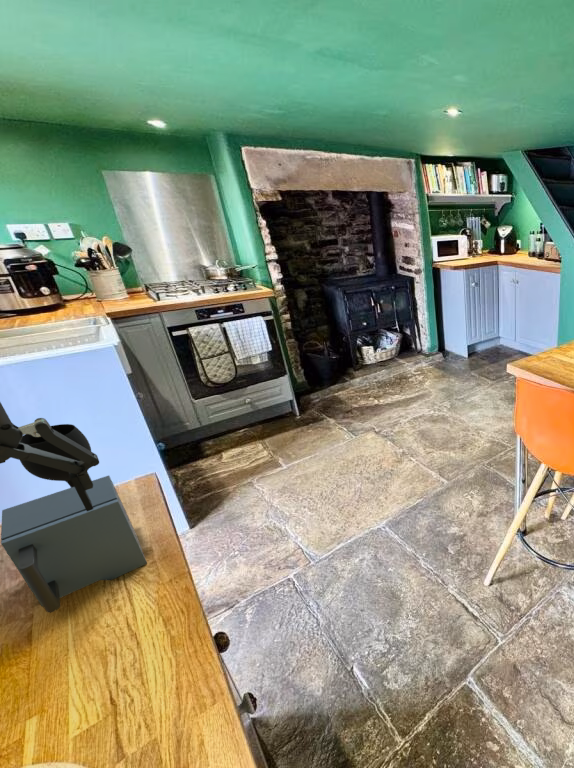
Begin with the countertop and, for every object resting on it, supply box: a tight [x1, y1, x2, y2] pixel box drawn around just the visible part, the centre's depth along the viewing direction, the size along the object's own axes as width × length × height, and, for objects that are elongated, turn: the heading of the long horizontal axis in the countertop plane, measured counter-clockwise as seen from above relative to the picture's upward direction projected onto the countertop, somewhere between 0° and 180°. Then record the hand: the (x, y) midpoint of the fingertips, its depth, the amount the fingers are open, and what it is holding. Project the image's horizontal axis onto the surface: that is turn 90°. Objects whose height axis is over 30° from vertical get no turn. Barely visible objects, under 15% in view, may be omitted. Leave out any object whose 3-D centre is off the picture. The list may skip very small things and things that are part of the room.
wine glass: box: [19, 423, 92, 488], centre depth 91 cm, size 10×10×20 cm
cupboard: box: [0, 475, 147, 561], centre depth 76 cm, size 10×14×16 cm
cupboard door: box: [0, 499, 148, 614], centre depth 71 cm, size 7×14×16 cm, turn 138°
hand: (27, 529), depth 62 cm, fingers open, 13 cm apart
